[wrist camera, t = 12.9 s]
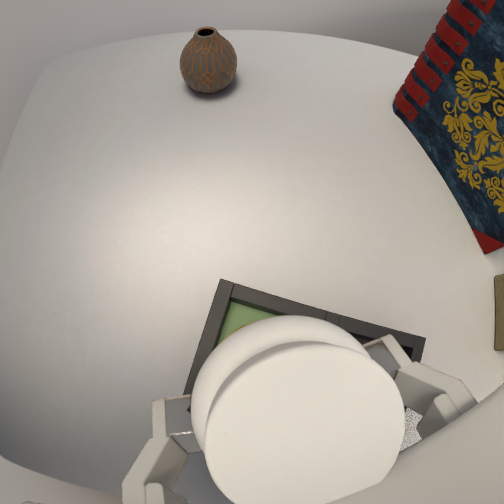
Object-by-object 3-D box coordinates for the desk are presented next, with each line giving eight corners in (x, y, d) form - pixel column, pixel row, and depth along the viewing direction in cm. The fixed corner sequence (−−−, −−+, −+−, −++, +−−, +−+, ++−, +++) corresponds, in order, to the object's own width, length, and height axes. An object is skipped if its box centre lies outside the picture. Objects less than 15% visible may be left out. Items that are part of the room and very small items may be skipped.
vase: (201, 109, 34) (193, 56, 25) (174, 81, 35) (164, 31, 26) (247, 86, 35) (250, 34, 26) (218, 60, 36) (216, 12, 28)
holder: (189, 388, 26) (182, 397, 22) (222, 285, 29) (220, 278, 25) (376, 431, 25) (394, 442, 21) (405, 337, 28) (426, 337, 24)
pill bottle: (188, 370, 16) (110, 431, 5) (268, 297, 17) (316, 244, 6) (264, 443, 15) (296, 570, 4) (341, 372, 16) (467, 414, 6)
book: (382, 100, 36) (457, -39, 12) (411, 93, 37) (484, -26, 13) (482, 257, 31) (632, 185, 7) (504, 235, 32) (631, 165, 8)
